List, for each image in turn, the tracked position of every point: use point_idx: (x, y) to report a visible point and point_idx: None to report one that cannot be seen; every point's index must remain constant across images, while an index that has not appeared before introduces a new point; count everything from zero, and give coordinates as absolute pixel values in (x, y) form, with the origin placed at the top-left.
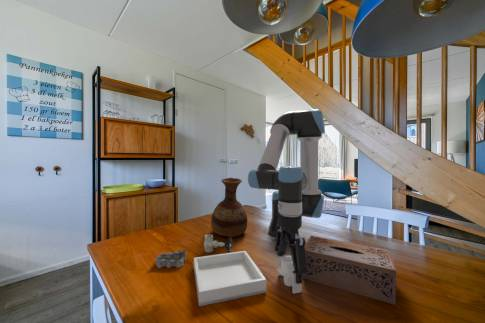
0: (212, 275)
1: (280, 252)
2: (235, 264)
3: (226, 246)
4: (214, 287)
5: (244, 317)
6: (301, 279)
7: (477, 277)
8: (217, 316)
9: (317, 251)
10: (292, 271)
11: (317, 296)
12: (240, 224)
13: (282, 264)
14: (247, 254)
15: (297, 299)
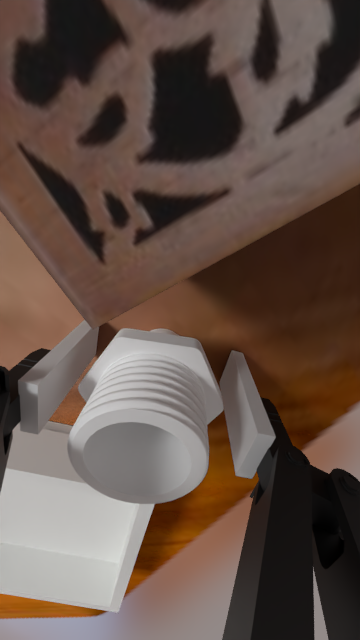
0: (16, 522)
1: (5, 455)
2: None
3: None
4: (116, 593)
5: (213, 520)
6: (278, 421)
7: None
8: (176, 548)
9: (331, 96)
10: (251, 496)
11: (305, 311)
12: None
13: (135, 468)
14: None
15: (257, 389)
